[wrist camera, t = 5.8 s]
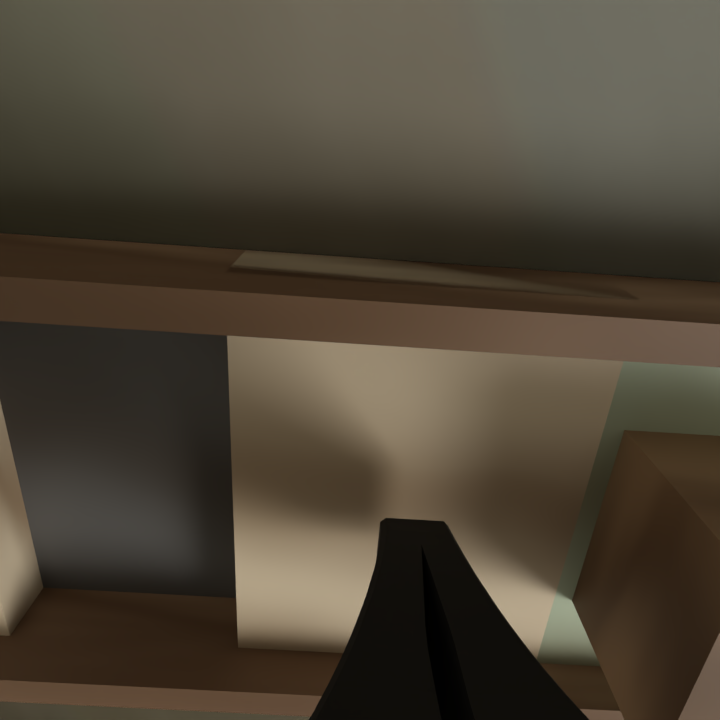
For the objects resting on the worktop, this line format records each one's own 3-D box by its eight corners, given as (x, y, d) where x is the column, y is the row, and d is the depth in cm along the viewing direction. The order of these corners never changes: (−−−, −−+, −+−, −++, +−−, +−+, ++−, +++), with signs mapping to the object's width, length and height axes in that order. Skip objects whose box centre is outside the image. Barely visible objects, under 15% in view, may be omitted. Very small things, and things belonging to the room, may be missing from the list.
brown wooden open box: (764, 634, 17) (896, 801, 13) (-214, 582, 16) (-413, 740, 12) (942, 297, 12) (1234, 384, 8) (-398, 205, 12) (-817, 249, 7)
